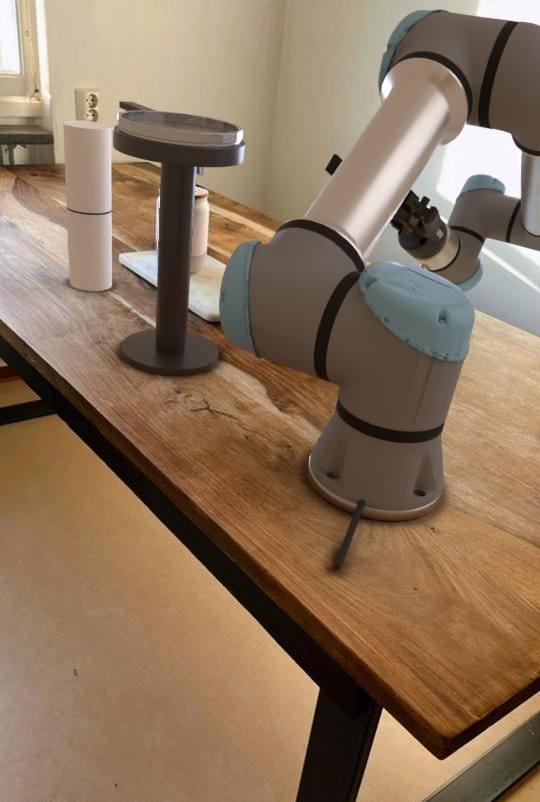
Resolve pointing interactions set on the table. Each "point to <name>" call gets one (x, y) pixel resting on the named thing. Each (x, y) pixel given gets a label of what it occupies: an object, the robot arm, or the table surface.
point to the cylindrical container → (88, 204)
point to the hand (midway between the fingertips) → (359, 172)
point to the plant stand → (174, 226)
